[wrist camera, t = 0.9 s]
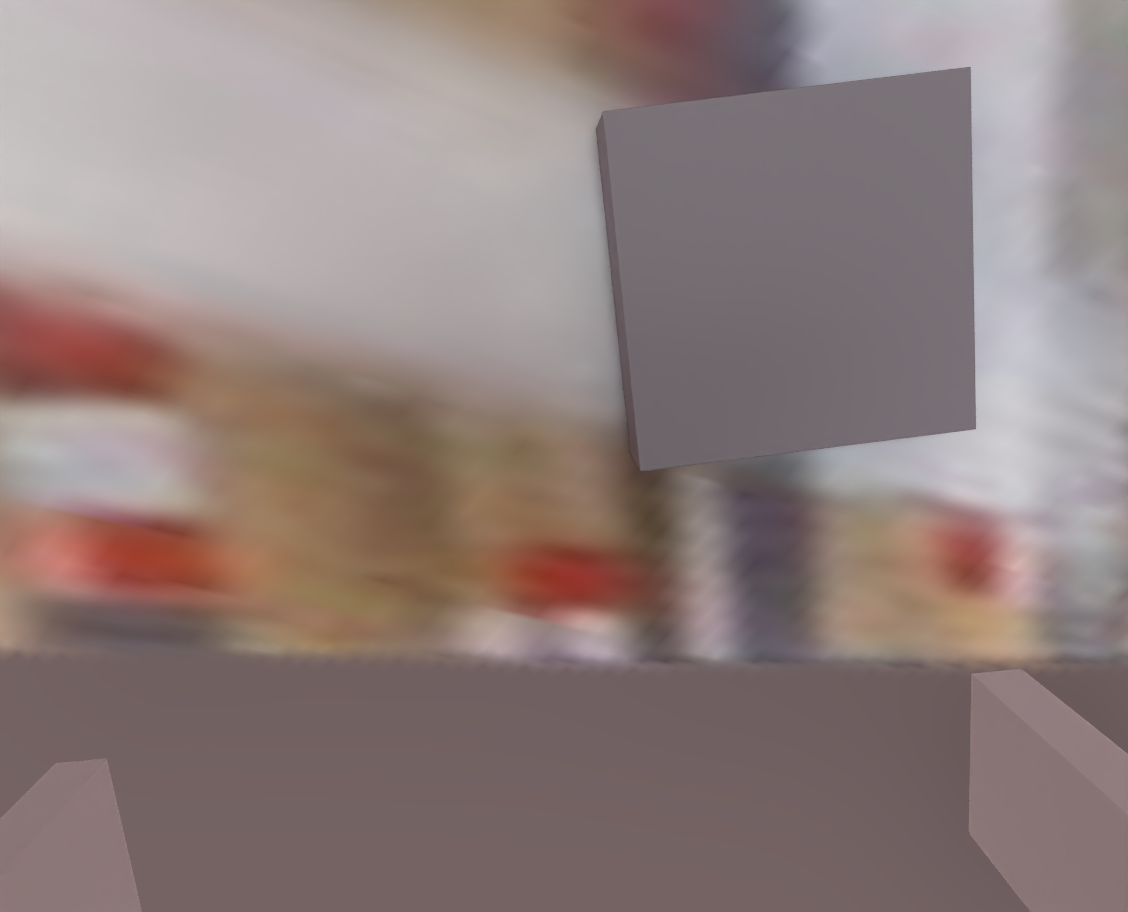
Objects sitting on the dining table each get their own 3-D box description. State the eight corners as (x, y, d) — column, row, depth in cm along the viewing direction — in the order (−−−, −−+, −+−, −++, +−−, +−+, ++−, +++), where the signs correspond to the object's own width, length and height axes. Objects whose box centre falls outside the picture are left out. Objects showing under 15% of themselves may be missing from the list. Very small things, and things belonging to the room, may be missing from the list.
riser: (595, 130, 35) (602, 111, 31) (921, 91, 35) (970, 66, 31) (629, 451, 38) (640, 471, 34) (930, 413, 38) (975, 428, 34)
